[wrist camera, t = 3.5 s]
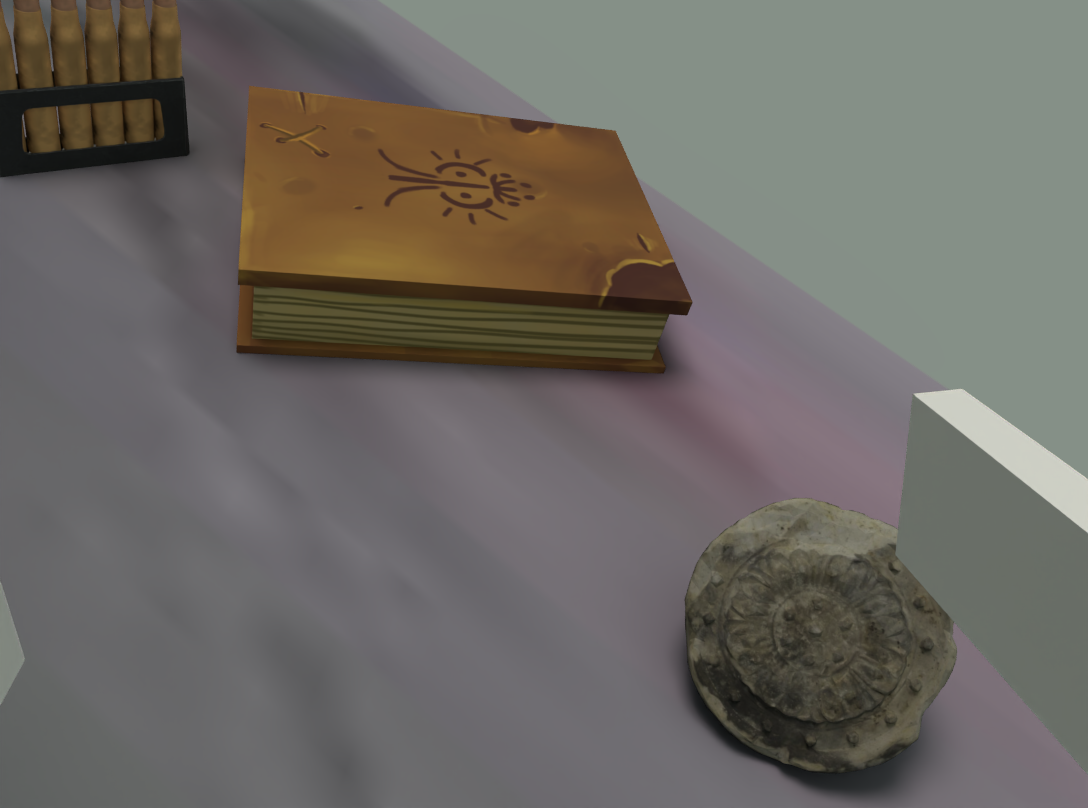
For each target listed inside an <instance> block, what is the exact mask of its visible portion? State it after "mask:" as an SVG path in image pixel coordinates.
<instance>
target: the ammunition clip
mask: <svg viewBox="0 0 1088 808" xmlns="http://www.w3.org/2000/svg"><path fill="white" fill-rule="evenodd" d="M13 2H14V6H13V8H14V20H15V21H14V32H13V35H14V44H15V52H16V59H17V67H18V74H16V72H15V65H14V59H13V52H12V45H11V39H10V35H9V32H8V29H7V27H6V24H5V20H4V14H3V9H2V7H1V1H0V177H5V176H13V175H22V174H31V173H39V172H48V171H57V170H65V169H74V168H83V167H91V166H100V165H109V164H117V163H126V162H135V161H143V160H152V159H161V158H169V157H178V156H187V155H188V153H189V139H188V125H187V112H186V98H185V84H184V78H183V76H182V58H181V30H180V26H179V21H178V15H177V4H176V0H153V2H152V20H151V25H150V35H149V29H148V25H147V21H146V14H145V5H144V0H120V19H119V25H118V42H117V33H116V29H115V25H114V22H113V15H112V7H111V2H110V0H86V23H85V45H86V57H87V69H86V58H85V48H84V38H83V33H82V30H81V26H80V23H79V18H78V10H77V6H76V0H51V27H50V38H51V48H52V58H53V67H54V71H52V69H51V61H50V53H49V44H48V37H47V33H46V30H45V27H44V24H43V21H42V14H41V9H40V6H39V0H13ZM118 43H119V56H118ZM150 44H151V55H150ZM119 60H120V67H119ZM56 106H58V115H59V125H60V134H59V128H58V120H57V111H56ZM90 107H91V112H90ZM23 113H24V121H25V129H26V136H27V137H25V134H24V127H23V121H22V115H23ZM91 119H92V122H91Z"/></svg>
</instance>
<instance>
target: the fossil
mask: <svg viewBox="0 0 1088 808" xmlns="http://www.w3.org/2000/svg"><path fill="white" fill-rule="evenodd" d="M897 534H898V529H897V528H895V527H894V526H892V525H889V524H887V523H884V522H882V521H880V520H874V519H872V518H869V517H868V516H866V515H865V514H863V513H859V512H856V511H852V510H846V511H845V510H842V509H841V508H839V507H837V506H835V505H832V504H829V503H826V502H822V501H816V500H814V499H810V498H793V499H789V500H785V501H781V502H776V503H772V504H770V505H768V506H765V507H763V508H761V509H759V510H756V511H754V512H752V513H751V514H750V515H748V516H747V517H746V518H743V519H740V520H738V521H737V522H736V523H735V524H734V525H733V526H730V527H729V528H727V529H725V530H724V531H723V532H722V533H721V534H720V535H719V536H718V537H717V538H716V539H715V540H713V541H712V542H711V543H710V544H709V546H708V547H707V548H706V550H705V551H704V553H703V554H702V555H701V557H700V559H699V560H698V562H697V564H696V567H695V569H694V572H693V575H692V577H691V580H690V583H689V587H688V590H687V593H686V597H685V629H686V641H687V659H688V665H689V669H690V672H691V676H692V679H693V681H694V684H695V686H696V688H697V690H698V692H699V694H700V696H701V697H702V699H703V701H704V703H705V704H706V706H707V707H708V708H709V709H710V711H711V712H712V713H713V714H714V715H715V717H716V718H717V719H718V720H719V721H720V723H721V724H722V725H723V726H724V727H725V728H726V730H727V731H728V732H730V733H731V734H732V735H733V736H734V737H735V738H736V739H738V740H739V741H740V742H741V743H743V744H744V745H746V746H748V747H749V748H751V749H753V750H754V751H756V752H758V753H761V754H763V755H766V756H769V757H771V758H773V759H776V760H778V761H780V762H782V763H785V764H791V765H794V766H796V767H799V768H801V769H804V770H807V771H810V772H819V773H844V772H850V771H856V770H862V769H865V768H867V767H871V766H875V765H879V764H882V763H884V762H886V761H888V760H890V759H892V758H894V757H895V756H897V755H898V754H899V753H901V752H902V751H903V750H905V749H906V748H907V747H908V746H910V745H911V744H912V743H913V742H915V741H916V740H917V739H918V736H919V731H920V727H921V719H922V716H923V713H924V711H925V710H926V709H927V708H928V707H929V706H930V704H931V703H932V702H933V700H934V699H935V698H936V696H937V695H938V693H939V692H940V690H941V689H942V688H943V687H944V685H945V684H946V682H947V680H948V679H949V677H950V675H951V673H952V671H953V668H954V665H955V661H956V655H957V647H956V644H955V642H954V640H953V637H952V635H953V623H954V621H953V620H952V619H951V618H950V617H949V616H948V614H947V613H946V612H945V611H944V610H943V609H942V608H941V606H940V605H939V604H938V603H937V602H936V601H935V600H934V598H933V597H932V596H931V595H930V594H929V593H928V592H927V590H926V589H925V588H924V587H923V586H922V585H921V584H920V582H919V581H918V580H917V579H916V578H915V577H914V576H913V574H912V573H911V572H910V571H909V570H908V569H907V568H906V566H905V565H904V564H903V563H902V562H901V561H900V560H899V558H898V557H897V556H896V555H895V552H896V543H897Z"/></svg>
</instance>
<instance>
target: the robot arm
mask: <svg viewBox="0 0 1088 808" xmlns="http://www.w3.org/2000/svg"><path fill="white" fill-rule="evenodd" d="M895 555H896V556H897V557H898V558H899V560H900V561H901V562H902V563H903V564H904V565H905V566H906V568H907V569H908V570H909V571H910V572H911V573H912V574H913V576H914V577H915V578H916V579H917V580H918V581H919V582H920V584H921V585H922V586H923V587H924V588H925V589H926V590H927V592H928V593H929V594H930V595H931V596H932V597H933V598H934V600H935V601H936V602H937V603H938V604H939V605H940V606H941V608H942V609H943V610H944V611H945V612H946V613H947V614H948V616H949V617H950V618H951V619H952V620H953V621H954V622H955V624H956V625H957V626H958V627H959V628H960V629H961V630H962V632H963V633H964V634H965V635H966V636H967V637H968V638H969V640H970V641H971V642H972V643H973V644H974V645H975V646H976V648H977V649H978V650H979V651H980V652H981V653H982V654H983V656H984V657H985V658H986V659H987V660H988V661H989V662H990V664H991V665H992V666H993V667H994V668H995V669H996V670H997V672H998V673H999V674H1000V675H1001V676H1002V677H1003V678H1004V680H1005V681H1006V682H1007V683H1008V684H1009V685H1010V686H1011V688H1012V689H1013V690H1014V691H1015V692H1016V693H1017V694H1018V696H1019V697H1020V698H1021V699H1022V700H1023V701H1024V702H1025V704H1026V705H1027V706H1028V707H1029V708H1030V709H1031V710H1032V712H1033V713H1034V714H1035V715H1036V716H1037V717H1038V718H1039V720H1040V721H1041V722H1042V723H1043V724H1044V725H1045V726H1046V728H1047V729H1048V730H1049V731H1050V732H1051V733H1052V734H1053V736H1054V737H1055V738H1056V739H1057V740H1058V741H1059V742H1060V744H1061V745H1062V746H1063V747H1064V748H1065V749H1066V750H1067V752H1068V753H1069V754H1070V755H1071V756H1072V757H1073V758H1074V760H1075V761H1076V762H1077V763H1078V764H1079V765H1080V766H1081V768H1082V769H1083V770H1084V771H1085V772H1086V773H1087V774H1088V479H1087V478H1085V477H1084V476H1083V475H1081V474H1080V473H1079V472H1077V471H1076V470H1074V469H1073V468H1072V467H1070V466H1069V465H1067V464H1066V463H1065V462H1063V461H1062V460H1060V459H1059V458H1058V457H1056V456H1055V455H1054V454H1052V453H1051V452H1049V451H1048V450H1047V449H1045V448H1043V447H1042V446H1041V445H1040V444H1038V443H1037V442H1035V441H1034V440H1033V439H1031V438H1030V437H1028V436H1027V435H1026V434H1024V433H1023V432H1021V431H1020V430H1019V429H1017V428H1016V427H1015V426H1013V425H1012V424H1010V423H1009V422H1007V421H1006V420H1005V419H1003V418H1002V417H1001V416H999V415H998V414H996V413H995V412H994V411H992V410H991V409H989V408H988V407H987V406H985V405H984V404H982V403H981V402H980V401H978V400H977V399H976V398H974V397H973V396H971V395H970V394H969V393H967V392H966V391H964V390H963V389H957V390H947V391H937V392H927V393H917V394H913V398H912V407H911V416H910V425H909V434H908V443H907V452H906V461H905V471H904V480H903V489H902V498H901V507H900V516H899V525H898V534H897V543H896V552H895ZM24 661H25V658H24V655H23V651H22V648H21V645H20V642H19V639H18V635H17V632H16V629H15V626H14V623H13V619H12V616H11V613H10V610H9V607H8V603H7V600H6V597H5V594H4V591H3V588H2V584H1V581H0V705H1V703H2V701H3V700H4V698H5V696H6V694H7V692H8V690H9V689H10V687H11V685H12V683H13V681H14V679H15V677H16V676H17V674H18V672H19V670H20V668H21V666H22V664H23V663H24Z"/></svg>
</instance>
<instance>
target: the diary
mask: <svg viewBox="0 0 1088 808" xmlns="http://www.w3.org/2000/svg"><path fill="white" fill-rule="evenodd" d="M238 285H240V296H239V314H238V331H237V353H258V354H278V355H298V356H319V357H339V358H359V359H380V360H400V361H420V362H441V363H461V364H482V365H502V366H522V367H543V368H563V369H583V370H604V371H624V372H644V373H664V370H665V368H666V367H665V364H664V362H663V359H662V356H661V354H660V351H659V349H658V346H657V344H658V342H659V339H660V337H661V334H662V332H663V329H664V326H665V324H666V321H667V319H668V316H669V314H674V315H687V314H688V312H689V309H690V307H691V305H692V300H691V298H690V295H689V293H688V291H687V289H686V286H685V284H684V282H683V280H682V278H681V275H680V273H679V271H678V269H677V266H676V264H675V262H674V260H673V258H672V255H671V253H670V251H669V249H668V246H667V244H666V242H665V240H664V238H663V235H662V233H661V231H660V229H659V226H658V224H657V222H656V220H655V218H654V215H653V213H652V211H651V209H650V206H649V204H648V202H647V200H646V198H645V195H644V193H643V191H642V189H641V186H640V184H639V182H638V180H637V178H636V175H635V173H634V171H633V169H632V166H631V164H630V162H629V160H628V158H627V156H626V153H625V151H624V149H623V146H622V144H621V142H620V140H619V138H618V135H617V133H616V131H612V130H605V129H597V128H589V127H580V126H572V125H564V124H556V123H548V122H540V121H531V120H523V119H515V118H507V117H499V116H491V115H483V114H474V113H466V112H458V111H450V110H442V109H434V108H425V107H417V106H409V105H401V104H393V103H385V102H376V101H368V100H360V99H352V98H344V97H336V96H327V95H319V94H311V93H303V92H295V91H287V90H279V89H270V88H262V87H254V86H249V102H248V119H247V135H246V152H245V169H244V186H243V203H242V220H241V237H240V253H239V272H238Z"/></svg>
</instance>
